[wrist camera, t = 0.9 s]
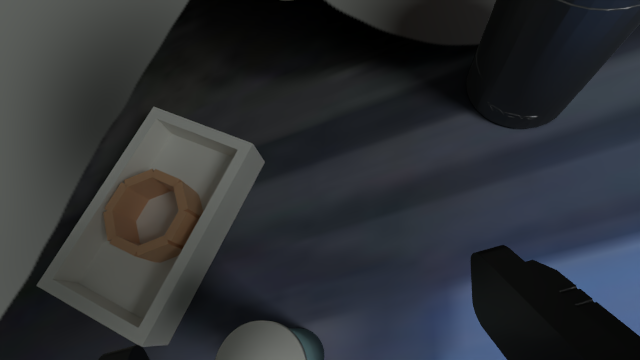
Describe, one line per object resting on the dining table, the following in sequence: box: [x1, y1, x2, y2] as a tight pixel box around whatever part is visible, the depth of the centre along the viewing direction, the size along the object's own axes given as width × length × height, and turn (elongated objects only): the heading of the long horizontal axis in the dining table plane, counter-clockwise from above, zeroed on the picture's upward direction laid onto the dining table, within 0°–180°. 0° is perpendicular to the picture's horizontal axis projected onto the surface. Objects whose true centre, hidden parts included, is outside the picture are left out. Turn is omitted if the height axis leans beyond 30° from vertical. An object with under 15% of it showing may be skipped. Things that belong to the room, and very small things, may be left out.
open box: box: [36, 107, 265, 347], centre depth 34 cm, size 18×11×4 cm, turn 156°
